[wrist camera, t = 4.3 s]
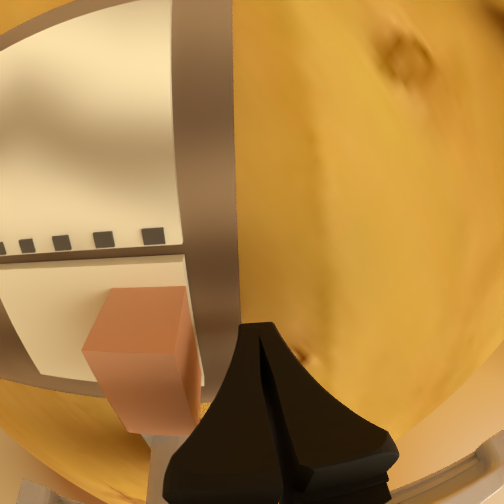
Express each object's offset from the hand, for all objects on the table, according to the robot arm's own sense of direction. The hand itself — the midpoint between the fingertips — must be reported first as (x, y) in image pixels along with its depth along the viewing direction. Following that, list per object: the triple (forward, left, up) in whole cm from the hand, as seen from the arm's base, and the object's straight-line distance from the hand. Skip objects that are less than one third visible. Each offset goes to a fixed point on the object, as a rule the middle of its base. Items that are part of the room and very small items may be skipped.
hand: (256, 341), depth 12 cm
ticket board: (+4, +13, -2) cm, 13 cm away
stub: (0, +8, -1) cm, 8 cm away
